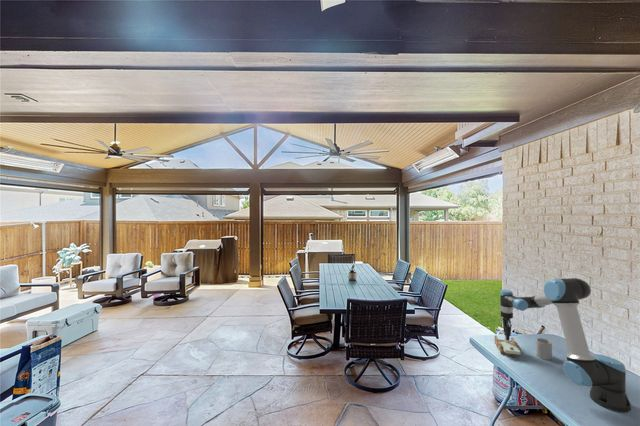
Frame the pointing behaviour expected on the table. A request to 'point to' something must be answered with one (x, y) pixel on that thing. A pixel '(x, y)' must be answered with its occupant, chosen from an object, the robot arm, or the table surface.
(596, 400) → the robot arm
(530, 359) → the table surface
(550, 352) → the mug
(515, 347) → the lid
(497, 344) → the wooden slatted rack
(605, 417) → the table surface
